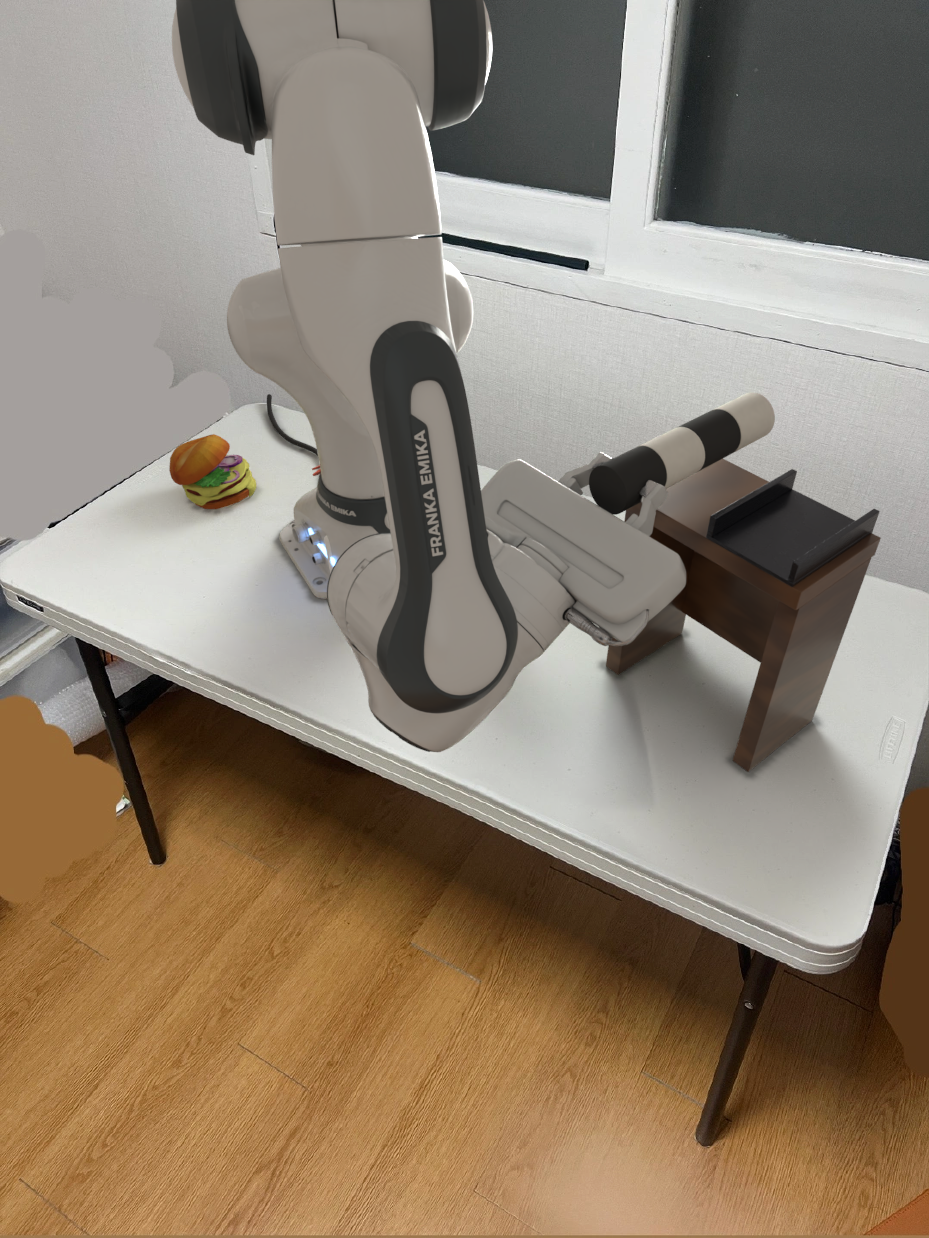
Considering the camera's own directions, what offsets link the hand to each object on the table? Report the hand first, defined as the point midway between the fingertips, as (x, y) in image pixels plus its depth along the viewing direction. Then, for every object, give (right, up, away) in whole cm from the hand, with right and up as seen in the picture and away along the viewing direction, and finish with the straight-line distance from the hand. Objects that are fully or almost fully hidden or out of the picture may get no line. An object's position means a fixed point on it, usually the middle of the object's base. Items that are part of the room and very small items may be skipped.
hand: (634, 472), depth 76 cm
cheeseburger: (-50, +5, +54) cm, 74 cm away
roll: (+5, +1, +5) cm, 7 cm away
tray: (+15, -5, +4) cm, 16 cm away
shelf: (+12, -21, +23) cm, 33 cm away
